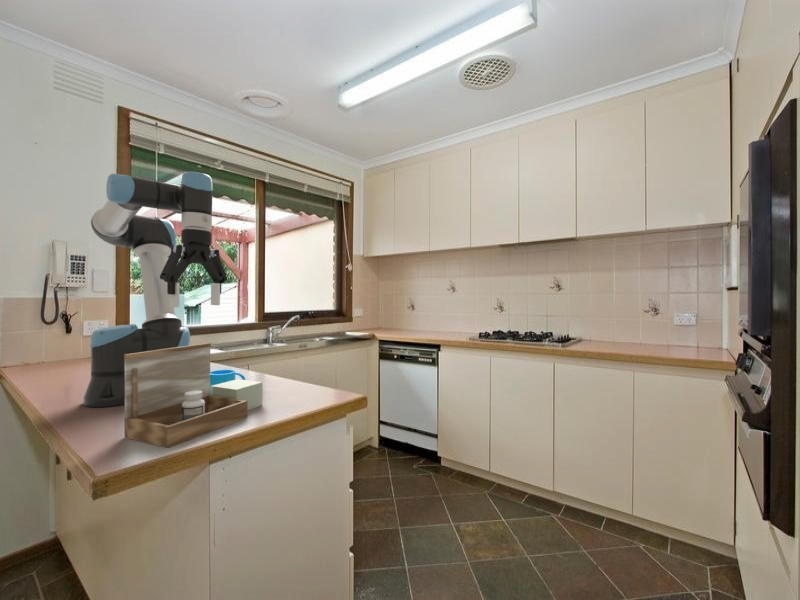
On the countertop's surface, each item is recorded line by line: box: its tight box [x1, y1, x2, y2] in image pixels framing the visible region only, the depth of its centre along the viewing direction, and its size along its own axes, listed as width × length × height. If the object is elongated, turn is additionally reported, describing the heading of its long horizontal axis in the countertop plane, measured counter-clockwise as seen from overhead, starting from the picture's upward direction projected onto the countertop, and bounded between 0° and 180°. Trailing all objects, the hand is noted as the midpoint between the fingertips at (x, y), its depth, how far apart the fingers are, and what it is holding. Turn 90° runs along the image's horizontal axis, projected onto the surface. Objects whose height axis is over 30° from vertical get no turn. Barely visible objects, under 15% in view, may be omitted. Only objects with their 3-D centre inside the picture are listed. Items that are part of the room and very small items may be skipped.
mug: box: [210, 369, 246, 395], centre depth 128 cm, size 12×8×8 cm
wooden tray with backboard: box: [124, 342, 249, 449], centre depth 98 cm, size 15×23×20 cm, turn 157°
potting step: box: [211, 378, 263, 411], centre depth 115 cm, size 10×10×7 cm
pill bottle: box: [181, 391, 206, 421], centre depth 98 cm, size 5×5×9 cm
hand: (196, 306), depth 108 cm, fingers open, 13 cm apart
